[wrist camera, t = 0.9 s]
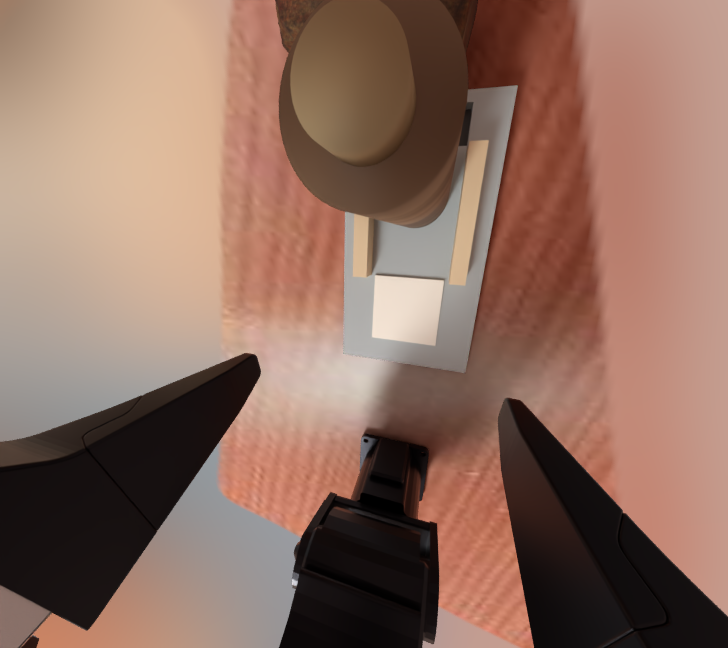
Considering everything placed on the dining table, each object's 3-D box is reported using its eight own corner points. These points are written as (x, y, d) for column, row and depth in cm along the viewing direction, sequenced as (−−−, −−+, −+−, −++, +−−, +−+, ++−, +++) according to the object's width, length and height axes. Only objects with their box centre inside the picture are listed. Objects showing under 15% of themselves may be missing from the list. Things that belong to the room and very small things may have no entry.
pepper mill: (444, 229, 18) (454, 210, 5) (383, 227, 19) (254, 207, 6) (454, 157, 16) (502, -138, 3) (387, 159, 17) (230, -64, 4)
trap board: (464, 366, 22) (467, 383, 19) (347, 348, 24) (336, 362, 21) (512, 95, 16) (526, 68, 13) (352, 108, 18) (337, 87, 16)
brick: (479, 6, 15) (493, -85, 11) (456, 91, 17) (461, 40, 12) (310, -4, 17) (266, -85, 13) (303, 73, 18) (261, 24, 14)
